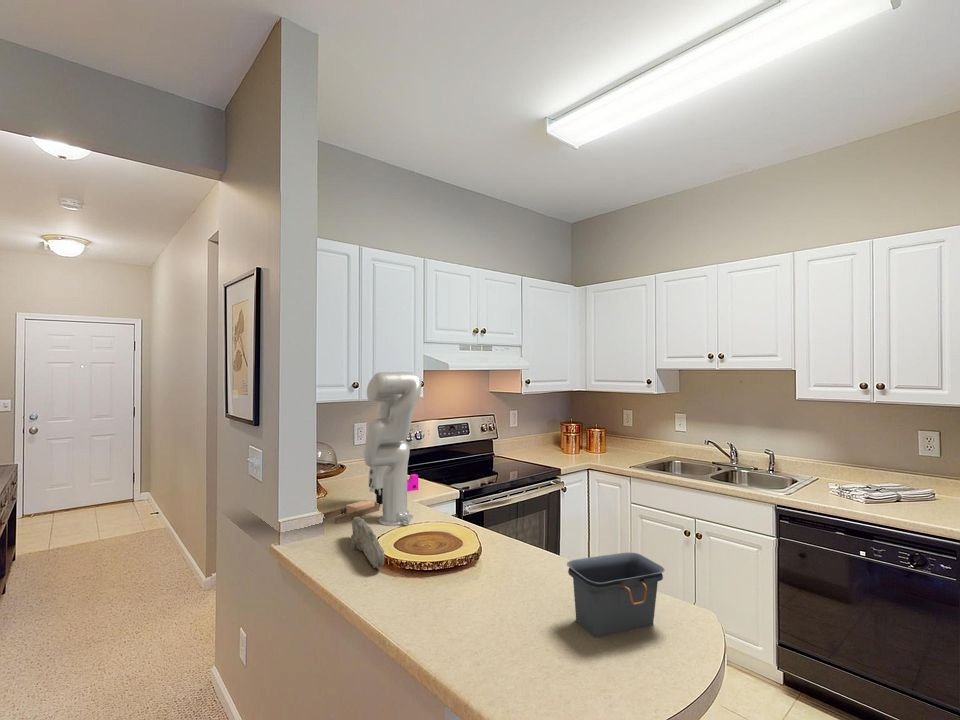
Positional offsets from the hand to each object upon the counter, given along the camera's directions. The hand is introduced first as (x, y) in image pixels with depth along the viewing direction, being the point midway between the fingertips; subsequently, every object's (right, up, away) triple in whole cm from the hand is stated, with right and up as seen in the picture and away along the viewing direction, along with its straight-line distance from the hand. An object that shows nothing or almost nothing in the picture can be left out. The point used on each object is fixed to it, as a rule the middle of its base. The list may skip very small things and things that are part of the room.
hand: (380, 503), depth 214 cm
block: (-6, -2, -8) cm, 11 cm away
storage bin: (+76, -1, -97) cm, 124 cm away
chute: (-9, -2, -12) cm, 15 cm away
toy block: (+5, -2, +26) cm, 26 cm away
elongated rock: (+6, -2, -54) cm, 55 cm away
